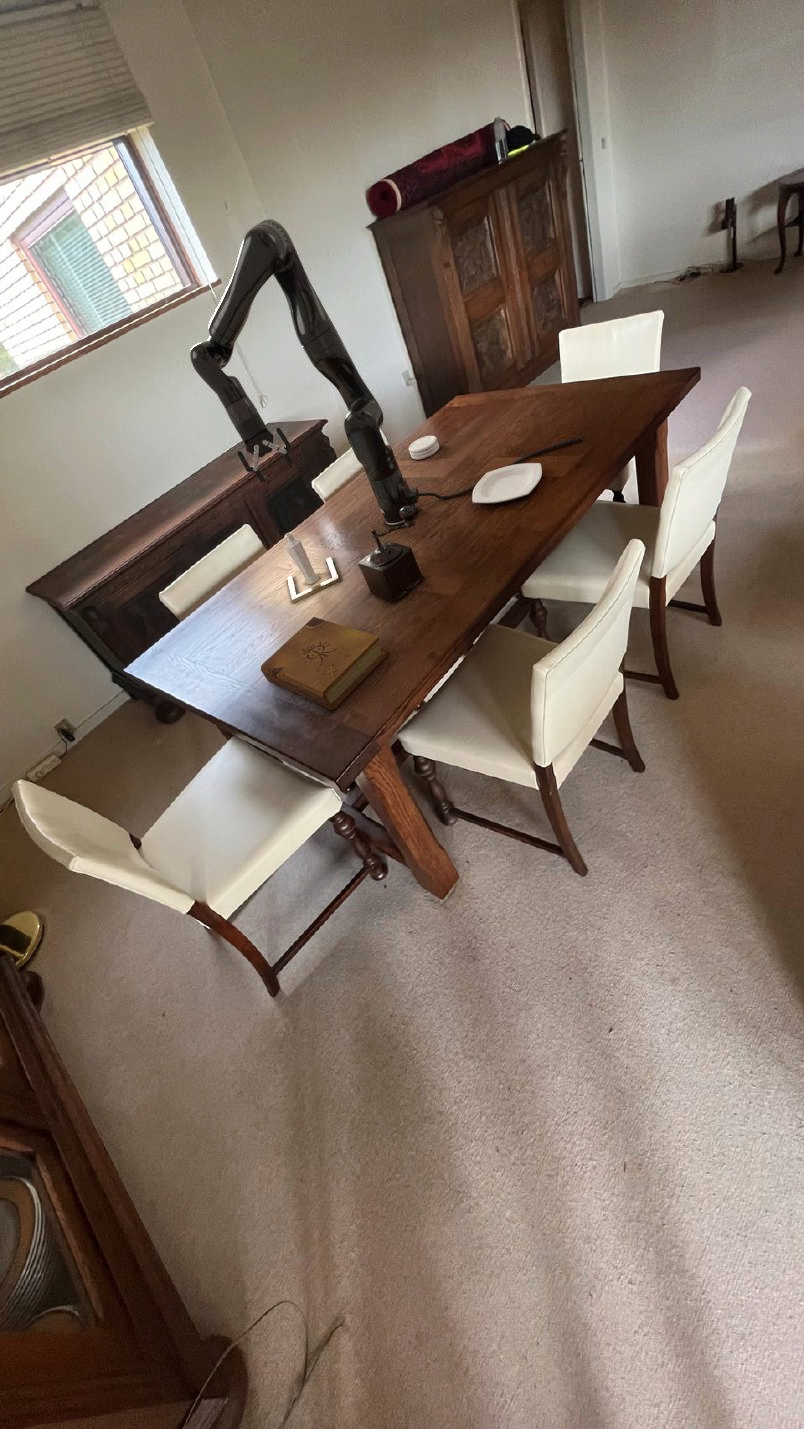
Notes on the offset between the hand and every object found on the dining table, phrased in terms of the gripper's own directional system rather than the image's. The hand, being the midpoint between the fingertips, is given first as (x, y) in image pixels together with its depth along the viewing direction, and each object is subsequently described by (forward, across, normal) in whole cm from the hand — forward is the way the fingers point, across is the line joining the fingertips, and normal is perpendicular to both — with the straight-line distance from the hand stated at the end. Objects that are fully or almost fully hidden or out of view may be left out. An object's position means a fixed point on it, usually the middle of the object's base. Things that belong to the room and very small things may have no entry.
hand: (278, 474), depth 177 cm
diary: (+38, -10, -57) cm, 69 cm away
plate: (+32, +54, -17) cm, 65 cm away
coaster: (+20, +45, +31) cm, 58 cm away
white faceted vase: (+27, -6, -15) cm, 32 cm away
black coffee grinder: (+34, +16, -36) cm, 52 cm away
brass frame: (+27, -6, -15) cm, 32 cm away
